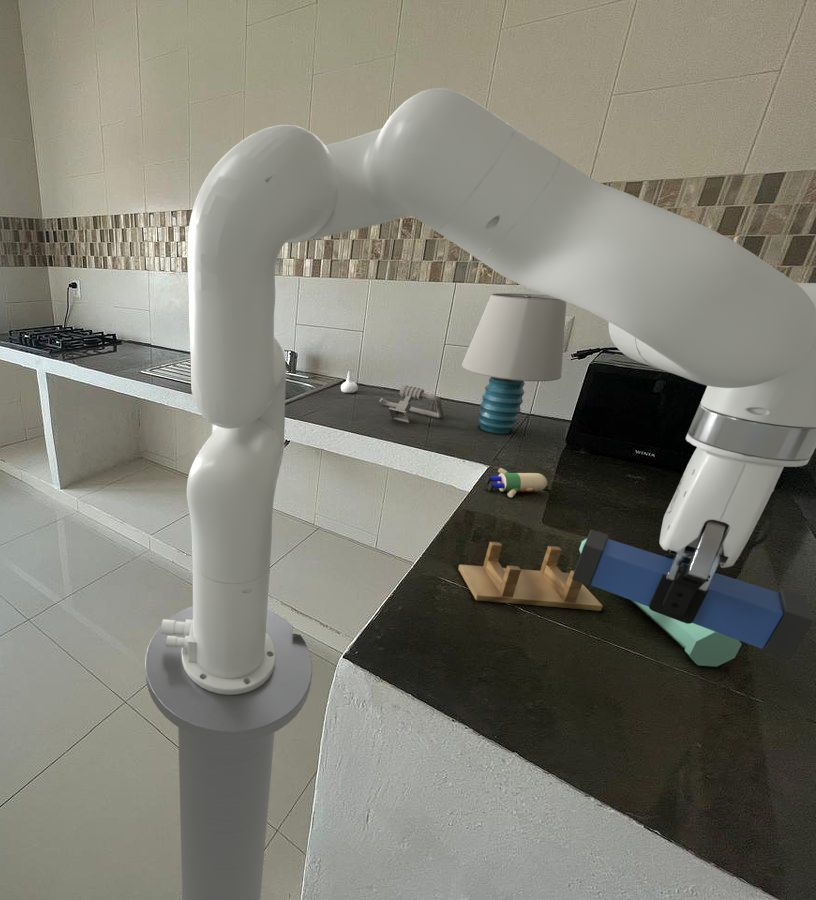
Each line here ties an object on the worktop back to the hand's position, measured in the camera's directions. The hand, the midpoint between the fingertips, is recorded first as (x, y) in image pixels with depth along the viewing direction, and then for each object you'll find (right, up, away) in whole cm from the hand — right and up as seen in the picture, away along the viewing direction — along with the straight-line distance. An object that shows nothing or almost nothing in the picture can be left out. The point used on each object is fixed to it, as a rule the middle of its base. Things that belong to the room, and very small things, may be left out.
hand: (671, 602), depth 48 cm
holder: (+4, -7, +28) cm, 30 cm away
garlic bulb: (+5, +38, +137) cm, 143 cm away
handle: (0, 0, 0) cm, 0 cm away
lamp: (+40, +21, +99) cm, 109 cm away
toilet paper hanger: (+15, +26, +110) cm, 114 cm away
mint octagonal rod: (+19, -8, +26) cm, 34 cm away
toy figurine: (+22, +6, +60) cm, 64 cm away
